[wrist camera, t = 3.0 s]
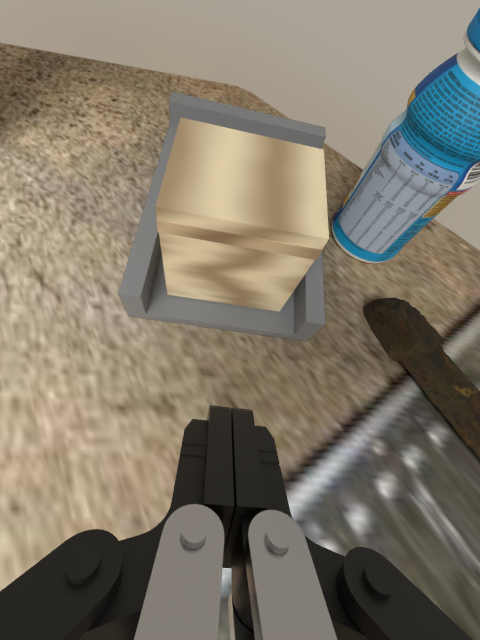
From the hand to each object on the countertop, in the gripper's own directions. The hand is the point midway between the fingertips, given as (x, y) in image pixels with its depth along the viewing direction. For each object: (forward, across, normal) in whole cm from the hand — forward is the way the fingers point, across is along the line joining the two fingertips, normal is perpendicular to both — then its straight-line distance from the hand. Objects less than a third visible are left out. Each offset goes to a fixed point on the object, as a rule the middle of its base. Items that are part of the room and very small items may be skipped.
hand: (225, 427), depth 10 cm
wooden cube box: (+19, 0, -2) cm, 19 cm away
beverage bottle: (+26, -15, -7) cm, 30 cm away
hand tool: (+13, -20, +5) cm, 24 cm away
